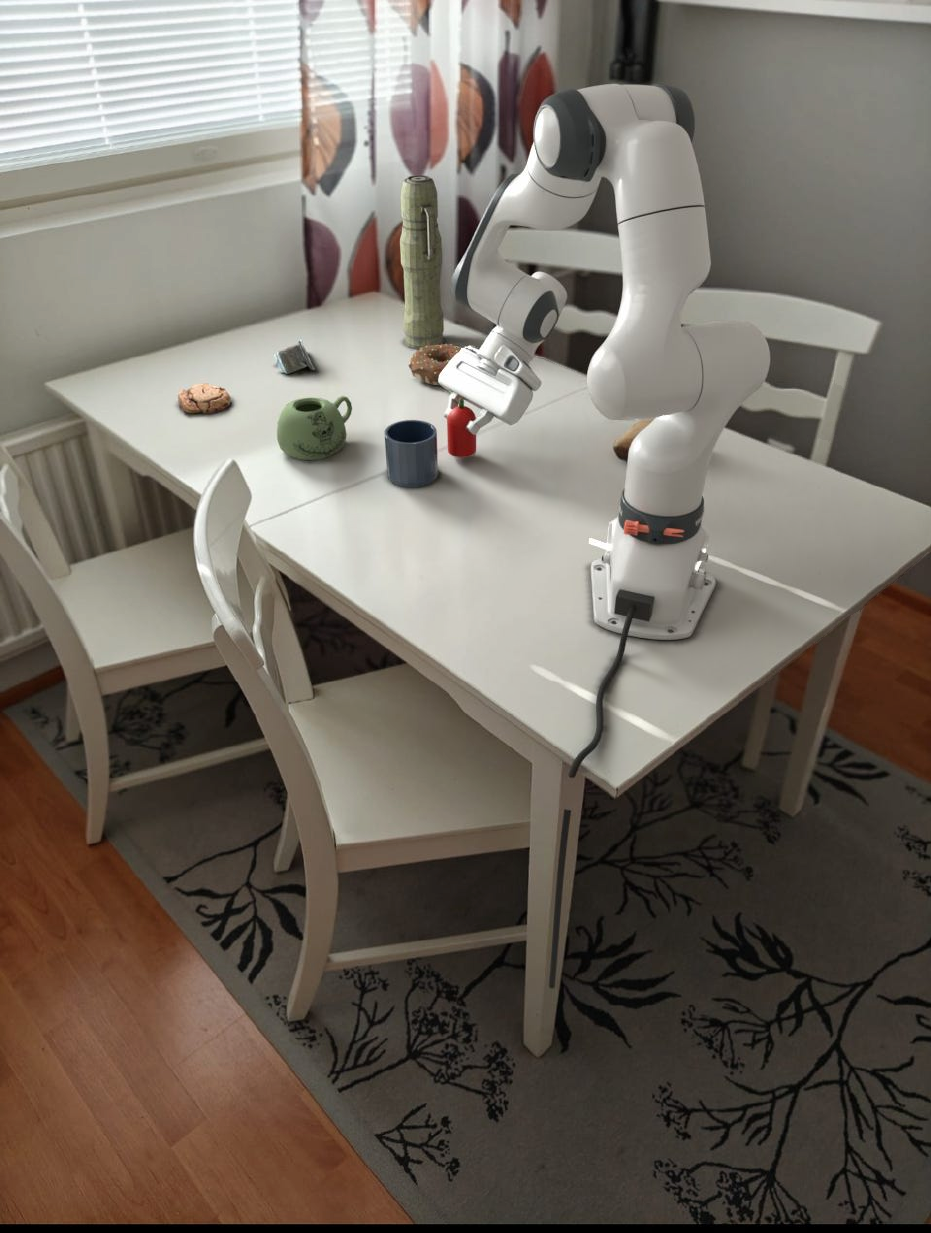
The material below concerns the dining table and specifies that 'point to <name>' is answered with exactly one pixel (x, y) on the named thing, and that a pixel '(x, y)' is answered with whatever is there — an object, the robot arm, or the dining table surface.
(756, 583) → the dining table surface
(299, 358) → the grey blocky piece
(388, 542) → the dining table surface
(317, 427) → the mug
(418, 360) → the donut
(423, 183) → the thermos
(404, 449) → the cup
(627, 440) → the vegetable
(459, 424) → the pepper
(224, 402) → the cookie
